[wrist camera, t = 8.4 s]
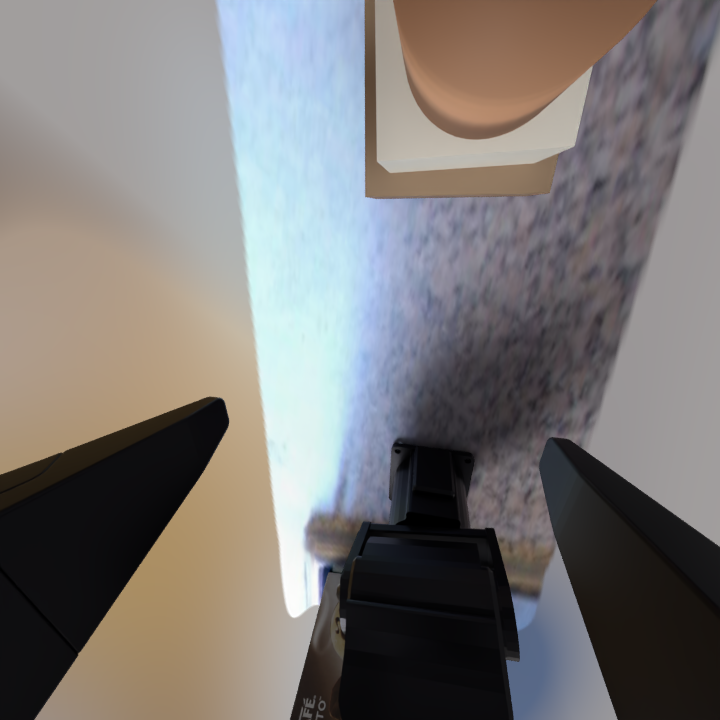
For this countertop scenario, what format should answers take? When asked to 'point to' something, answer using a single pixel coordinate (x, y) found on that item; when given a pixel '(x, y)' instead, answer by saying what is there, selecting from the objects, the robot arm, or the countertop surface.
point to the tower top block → (444, 151)
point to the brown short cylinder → (503, 55)
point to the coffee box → (322, 661)
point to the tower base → (448, 180)
